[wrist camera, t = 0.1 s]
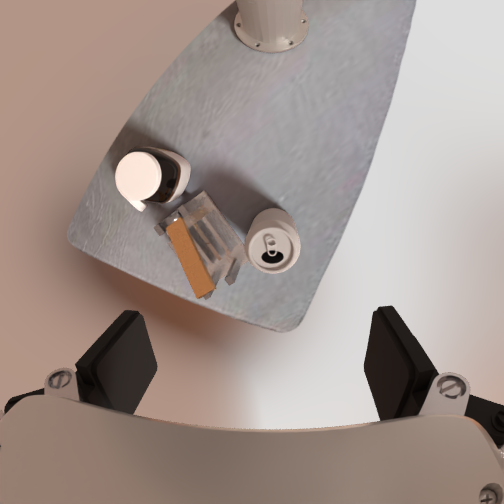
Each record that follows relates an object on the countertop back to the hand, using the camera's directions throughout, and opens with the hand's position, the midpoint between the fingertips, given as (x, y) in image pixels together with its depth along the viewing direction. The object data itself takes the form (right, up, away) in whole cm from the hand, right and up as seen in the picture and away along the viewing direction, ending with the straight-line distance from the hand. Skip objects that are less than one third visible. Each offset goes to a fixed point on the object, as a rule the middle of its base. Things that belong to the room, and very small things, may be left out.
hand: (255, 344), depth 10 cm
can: (+3, +7, +37) cm, 38 cm away
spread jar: (-16, +16, +36) cm, 42 cm away
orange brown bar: (-9, +3, +30) cm, 31 cm away
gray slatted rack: (-8, +6, +38) cm, 39 cm away
